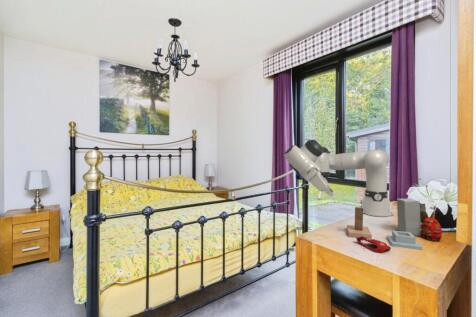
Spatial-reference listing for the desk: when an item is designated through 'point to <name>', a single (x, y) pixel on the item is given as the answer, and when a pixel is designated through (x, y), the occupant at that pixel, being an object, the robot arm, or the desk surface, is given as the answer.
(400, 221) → the skincare box
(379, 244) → the tracker holder
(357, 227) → the post
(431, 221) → the red clay folk toy
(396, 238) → the grey square socket base
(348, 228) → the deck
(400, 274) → the desk surface
